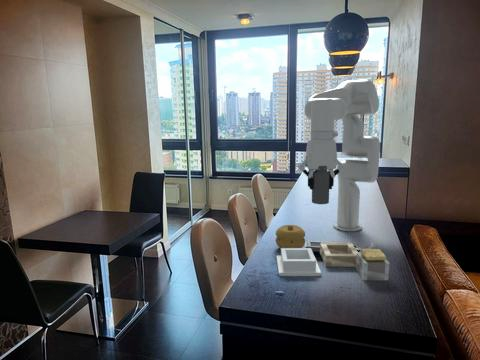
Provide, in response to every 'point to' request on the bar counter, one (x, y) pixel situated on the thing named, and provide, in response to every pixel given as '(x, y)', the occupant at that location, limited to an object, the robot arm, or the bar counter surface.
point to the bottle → (320, 186)
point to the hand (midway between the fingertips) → (320, 188)
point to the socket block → (353, 261)
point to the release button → (373, 255)
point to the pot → (290, 237)
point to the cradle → (297, 262)
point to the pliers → (366, 247)
